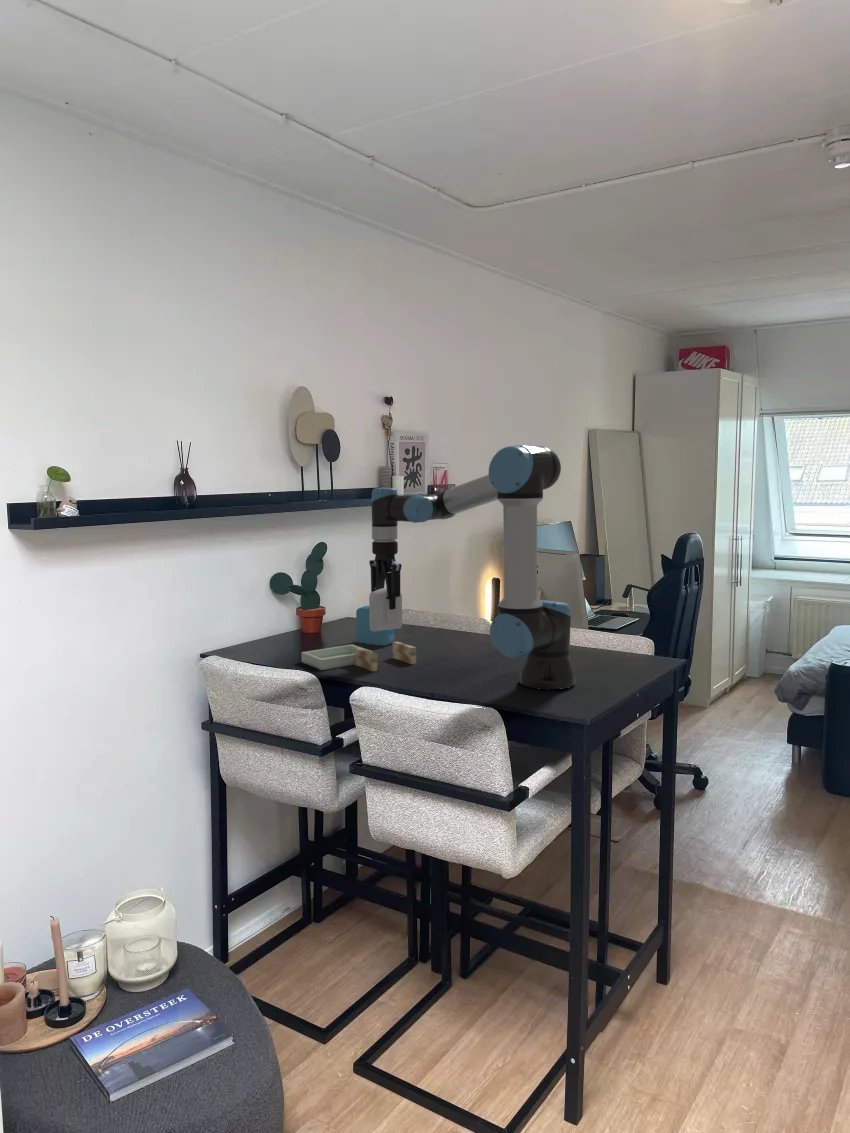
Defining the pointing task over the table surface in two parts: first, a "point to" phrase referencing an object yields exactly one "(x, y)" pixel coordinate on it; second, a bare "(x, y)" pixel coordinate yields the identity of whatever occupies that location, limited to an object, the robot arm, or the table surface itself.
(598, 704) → the table surface
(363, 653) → the pair of tan blocks
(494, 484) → the robot arm
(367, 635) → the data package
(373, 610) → the grey rounded slab
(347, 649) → the tray
